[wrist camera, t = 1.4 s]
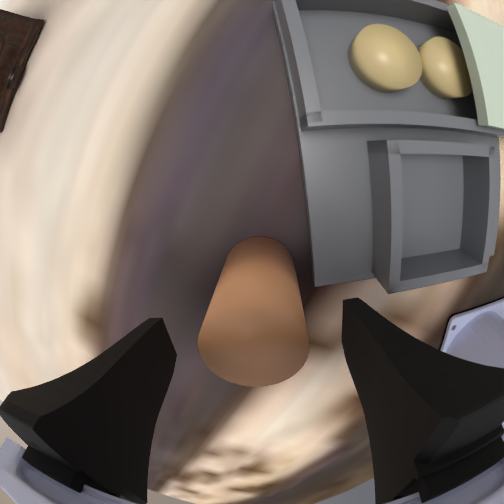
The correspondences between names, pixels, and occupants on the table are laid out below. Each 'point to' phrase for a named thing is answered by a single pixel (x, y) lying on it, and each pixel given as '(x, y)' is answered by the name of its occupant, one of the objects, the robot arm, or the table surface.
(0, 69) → the manual coffee grinder
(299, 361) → the tan cylindrical peg
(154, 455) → the table surface
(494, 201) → the housing
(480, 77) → the lid
